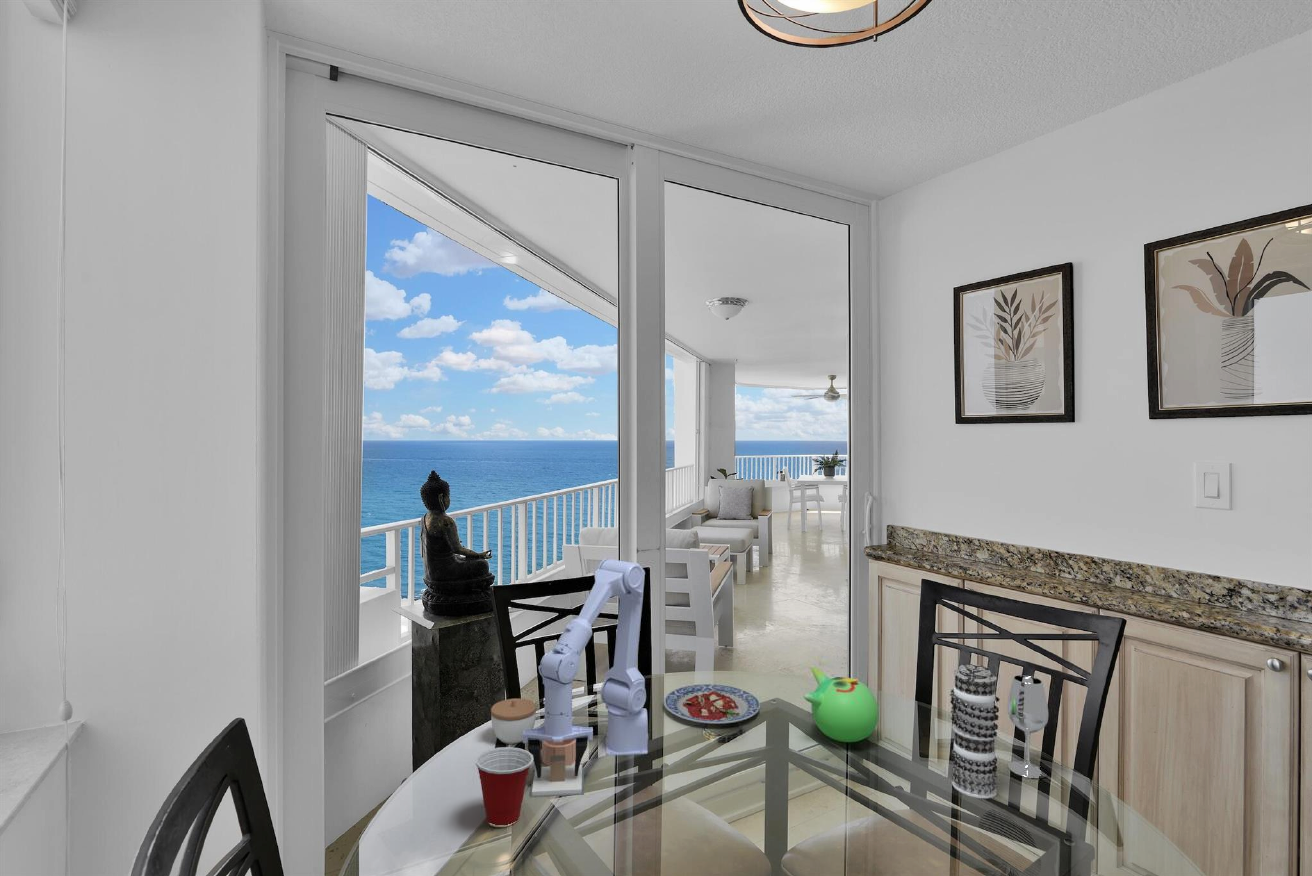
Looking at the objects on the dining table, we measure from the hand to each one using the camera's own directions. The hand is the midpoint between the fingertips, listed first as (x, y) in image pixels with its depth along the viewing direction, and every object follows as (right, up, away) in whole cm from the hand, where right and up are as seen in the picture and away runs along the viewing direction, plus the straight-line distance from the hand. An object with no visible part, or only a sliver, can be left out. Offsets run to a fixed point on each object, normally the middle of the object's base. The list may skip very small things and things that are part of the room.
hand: (557, 774), depth 136 cm
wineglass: (+102, -3, +6) cm, 103 cm away
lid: (0, -2, 0) cm, 2 cm away
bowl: (-1, -2, +10) cm, 11 cm away
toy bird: (+66, -3, +23) cm, 70 cm away
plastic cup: (-8, -2, -13) cm, 16 cm away
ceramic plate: (+36, -3, +39) cm, 52 cm away
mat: (0, -2, 0) cm, 2 cm away
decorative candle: (+87, -3, -1) cm, 87 cm away
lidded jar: (-14, -2, +20) cm, 24 cm away
